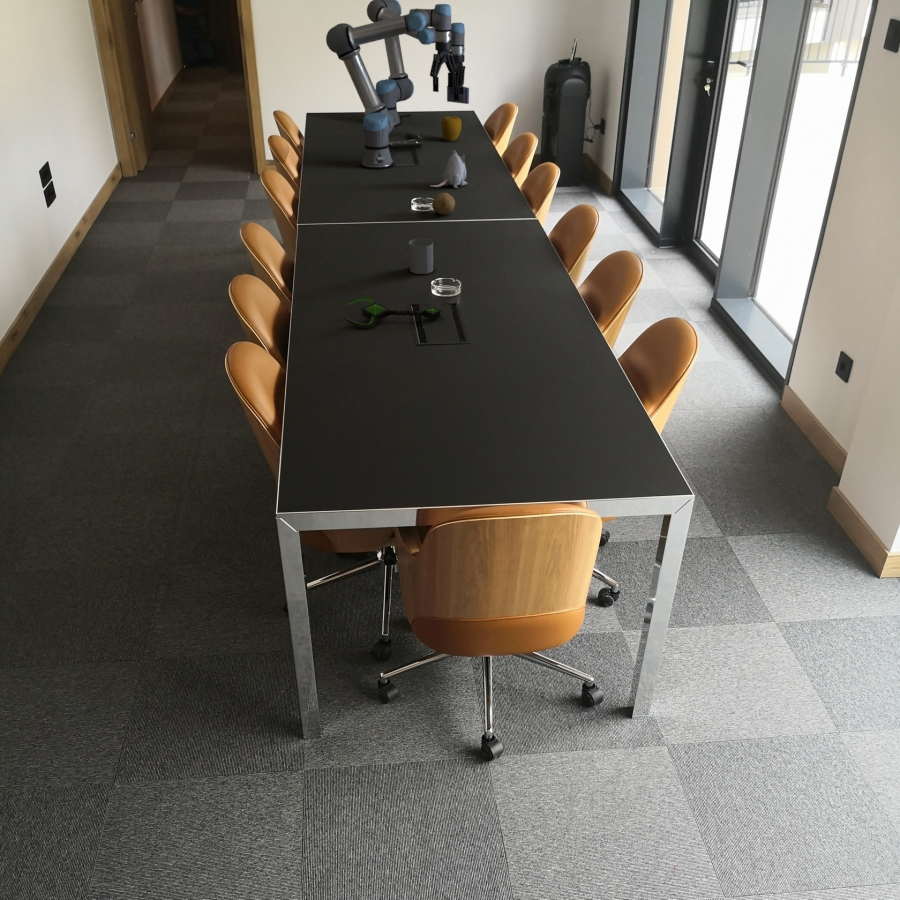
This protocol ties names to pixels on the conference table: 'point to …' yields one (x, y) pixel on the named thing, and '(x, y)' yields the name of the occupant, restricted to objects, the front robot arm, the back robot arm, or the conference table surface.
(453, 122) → the apple
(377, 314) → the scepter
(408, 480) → the conference table surface
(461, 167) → the toy
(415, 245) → the cup
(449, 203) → the potato
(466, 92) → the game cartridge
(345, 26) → the front robot arm
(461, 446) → the conference table surface
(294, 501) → the conference table surface
